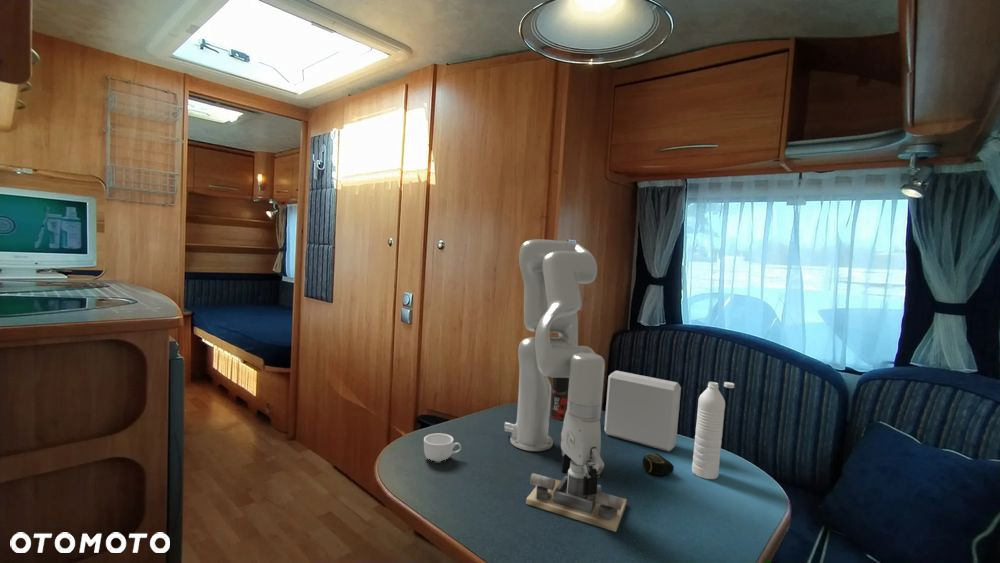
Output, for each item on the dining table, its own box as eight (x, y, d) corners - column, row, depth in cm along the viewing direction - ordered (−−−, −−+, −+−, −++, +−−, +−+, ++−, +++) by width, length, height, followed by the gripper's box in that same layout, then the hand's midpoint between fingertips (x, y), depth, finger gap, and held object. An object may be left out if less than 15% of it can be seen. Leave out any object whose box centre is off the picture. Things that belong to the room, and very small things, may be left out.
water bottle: (698, 479, 119) (707, 385, 118) (687, 467, 126) (695, 378, 124) (731, 480, 120) (740, 387, 118) (718, 469, 126) (727, 380, 124)
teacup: (421, 465, 118) (422, 444, 117) (424, 451, 125) (425, 432, 125) (460, 466, 118) (461, 445, 118) (460, 453, 126) (461, 433, 126)
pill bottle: (590, 503, 102) (593, 466, 102) (570, 504, 101) (573, 467, 101) (582, 492, 107) (584, 457, 106) (563, 493, 106) (565, 458, 105)
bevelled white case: (677, 445, 141) (683, 381, 139) (671, 454, 134) (677, 387, 133) (610, 427, 152) (615, 368, 151) (602, 435, 145) (607, 373, 144)
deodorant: (549, 418, 157) (552, 375, 156) (550, 412, 163) (553, 371, 162) (566, 420, 156) (570, 377, 155) (567, 414, 162) (570, 372, 161)
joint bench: (525, 503, 103) (527, 479, 102) (543, 480, 113) (545, 458, 113) (616, 532, 94) (618, 505, 94) (626, 504, 105) (628, 480, 105)
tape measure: (674, 476, 120) (675, 463, 120) (652, 479, 118) (653, 465, 118) (657, 464, 127) (659, 451, 127) (636, 466, 125) (637, 453, 124)
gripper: (551, 397, 109) (546, 466, 110) (589, 424, 93) (583, 505, 94) (579, 395, 112) (574, 463, 113) (620, 422, 95) (614, 501, 97)
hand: (578, 482), depth 103 cm, fingers open, 9 cm apart
